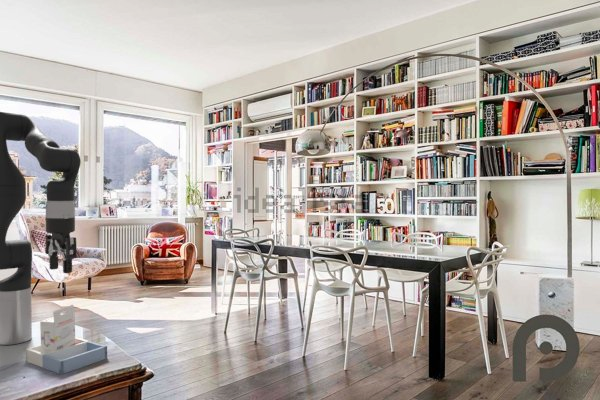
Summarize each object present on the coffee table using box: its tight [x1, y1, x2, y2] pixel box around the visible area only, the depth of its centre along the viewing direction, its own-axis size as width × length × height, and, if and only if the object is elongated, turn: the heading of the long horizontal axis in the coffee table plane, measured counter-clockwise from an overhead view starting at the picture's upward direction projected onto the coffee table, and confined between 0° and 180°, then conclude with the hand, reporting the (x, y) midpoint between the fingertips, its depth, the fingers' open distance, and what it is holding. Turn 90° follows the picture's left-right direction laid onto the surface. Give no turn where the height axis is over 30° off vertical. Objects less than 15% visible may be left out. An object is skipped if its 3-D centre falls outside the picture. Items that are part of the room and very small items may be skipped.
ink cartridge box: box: [39, 304, 76, 354], centre depth 128 cm, size 9×5×15 cm, turn 168°
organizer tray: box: [25, 336, 108, 375], centre depth 126 cm, size 18×14×4 cm
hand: (60, 271), depth 128 cm, fingers open, 8 cm apart
